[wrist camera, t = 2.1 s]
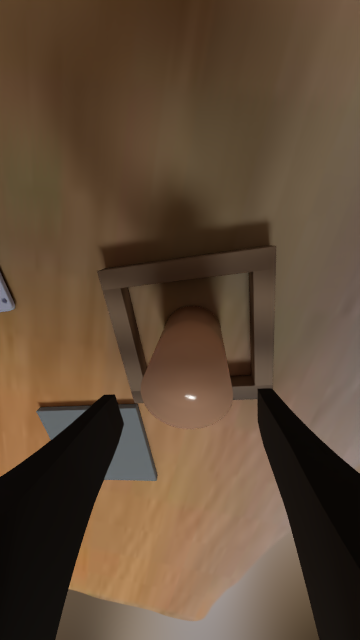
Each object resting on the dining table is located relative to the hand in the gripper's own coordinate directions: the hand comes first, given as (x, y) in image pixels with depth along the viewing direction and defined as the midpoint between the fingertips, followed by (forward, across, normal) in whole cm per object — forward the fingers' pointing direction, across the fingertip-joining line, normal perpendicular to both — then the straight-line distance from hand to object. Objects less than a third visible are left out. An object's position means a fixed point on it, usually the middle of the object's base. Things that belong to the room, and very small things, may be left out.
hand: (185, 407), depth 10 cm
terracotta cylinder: (+9, 0, 0) cm, 9 cm away
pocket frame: (+9, 0, 0) cm, 9 cm away
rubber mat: (+9, +13, +14) cm, 21 cm away
